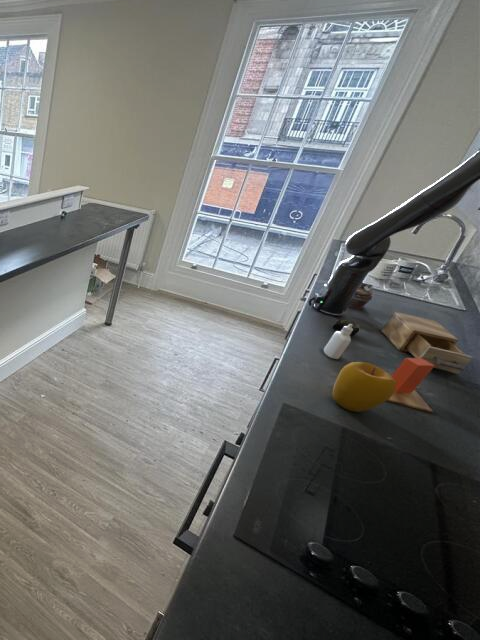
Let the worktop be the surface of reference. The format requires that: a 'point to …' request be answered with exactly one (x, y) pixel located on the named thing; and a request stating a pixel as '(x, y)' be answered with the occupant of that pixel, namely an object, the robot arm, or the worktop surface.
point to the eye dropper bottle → (338, 342)
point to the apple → (362, 387)
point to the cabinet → (413, 330)
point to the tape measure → (342, 323)
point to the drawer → (438, 352)
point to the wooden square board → (410, 400)
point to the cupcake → (361, 296)
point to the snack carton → (411, 374)
